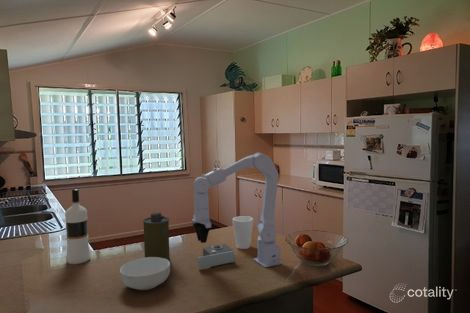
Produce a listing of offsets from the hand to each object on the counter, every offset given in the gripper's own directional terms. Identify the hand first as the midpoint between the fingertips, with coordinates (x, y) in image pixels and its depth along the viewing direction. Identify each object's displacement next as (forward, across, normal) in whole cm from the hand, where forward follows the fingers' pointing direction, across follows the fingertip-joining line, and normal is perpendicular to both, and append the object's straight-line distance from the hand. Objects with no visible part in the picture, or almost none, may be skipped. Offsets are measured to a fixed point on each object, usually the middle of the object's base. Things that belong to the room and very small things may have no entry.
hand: (202, 241), depth 134 cm
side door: (+9, +4, +4) cm, 11 cm away
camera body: (+9, 0, +7) cm, 12 cm away
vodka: (+10, -28, -44) cm, 53 cm away
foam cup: (+10, -10, +24) cm, 28 cm away
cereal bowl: (+10, +8, -24) cm, 27 cm away
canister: (+10, -12, -15) cm, 22 cm away
